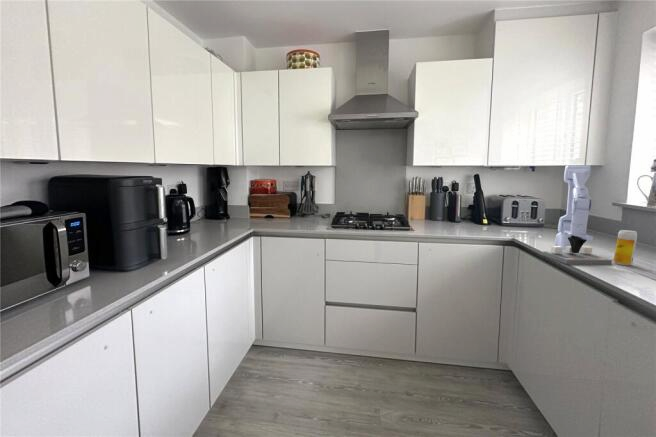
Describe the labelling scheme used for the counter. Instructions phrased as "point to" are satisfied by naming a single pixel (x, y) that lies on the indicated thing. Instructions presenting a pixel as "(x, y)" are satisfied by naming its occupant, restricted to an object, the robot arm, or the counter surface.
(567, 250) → the block
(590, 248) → the breaker right
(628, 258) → the yellow and white cylinder
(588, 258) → the breaker board
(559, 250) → the block
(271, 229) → the counter surface
